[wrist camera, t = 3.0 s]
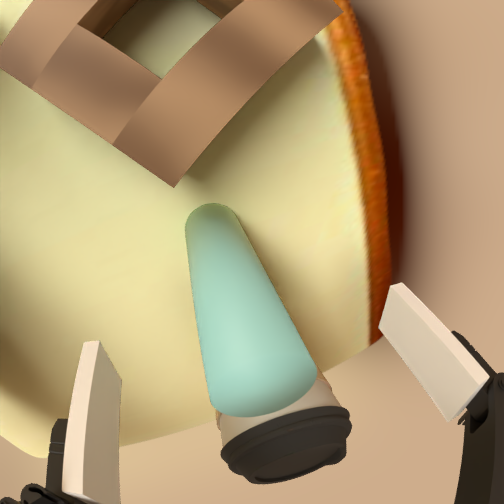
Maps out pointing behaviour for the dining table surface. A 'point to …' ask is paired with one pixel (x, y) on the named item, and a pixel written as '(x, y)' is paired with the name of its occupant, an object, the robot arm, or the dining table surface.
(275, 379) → the peg
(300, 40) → the socket
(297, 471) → the coffee cup
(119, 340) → the dining table surface
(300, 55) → the dining table surface
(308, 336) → the dining table surface
